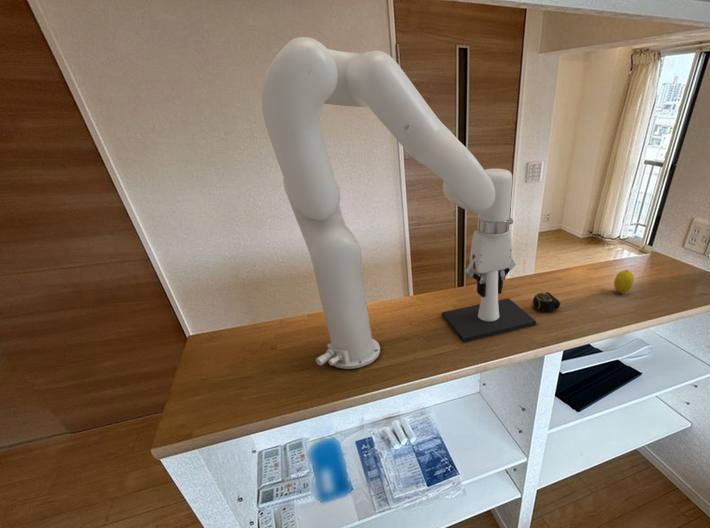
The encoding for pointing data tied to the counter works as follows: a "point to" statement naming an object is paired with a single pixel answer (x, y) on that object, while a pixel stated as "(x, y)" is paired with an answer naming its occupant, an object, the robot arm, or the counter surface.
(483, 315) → the cosmetic bottle
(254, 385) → the counter surface
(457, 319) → the mat
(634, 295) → the counter surface
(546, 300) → the tape measure
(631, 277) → the lemon
